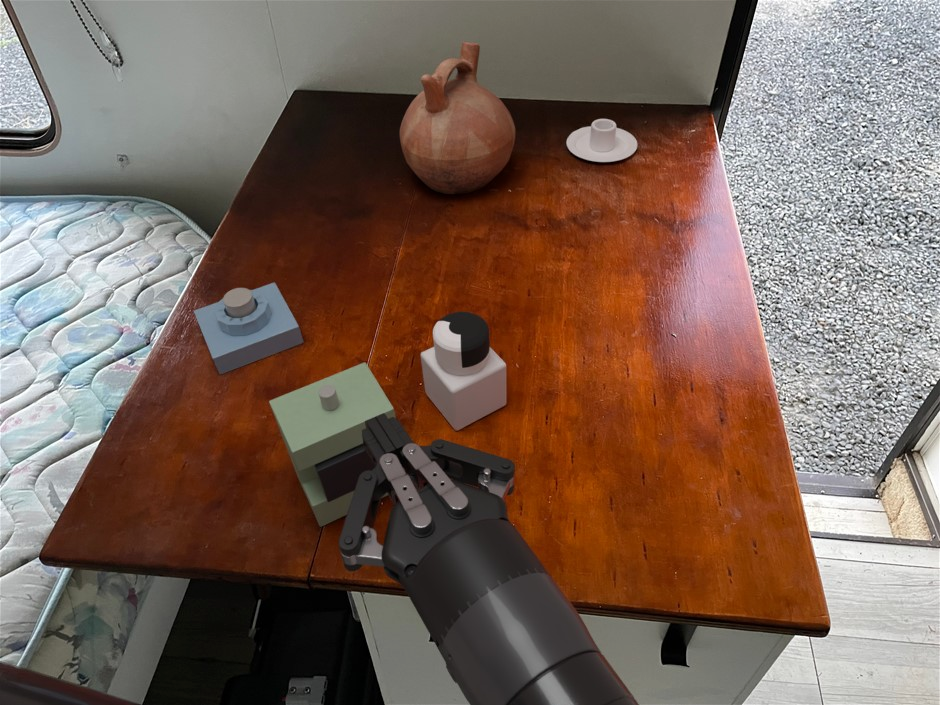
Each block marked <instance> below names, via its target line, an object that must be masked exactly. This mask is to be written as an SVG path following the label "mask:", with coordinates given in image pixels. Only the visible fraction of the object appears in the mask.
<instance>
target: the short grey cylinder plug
mask: <svg viewBox="0 0 940 705" xmlns="http://www.w3.org/2000/svg"><path fill="white" fill-rule="evenodd" d="M250 290H251V289H248V288H247V287H236V288H233V289H231V290H229V291H227V292H226V293H225V294H224V296H223V297H222V299H223V303H224V305H225V308H226V310H227V313H228V315H229V316H230V317H232V318H243V317H246V316H249V315H251V314H252V313H253V312H254V311H255V309H256V303H255V300H254V298H253V295H252V292H251V291H250Z"/></svg>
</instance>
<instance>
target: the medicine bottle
mask: <svg viewBox="0 0 940 705" xmlns="http://www.w3.org/2000/svg"><path fill="white" fill-rule="evenodd" d="M432 339H433V346H432V347H430V348H428V349H426V350H423V351H421V352H420V363H421V370H422V378H423V384H424V391H425V395H426V396H427V397H428V398H429V400H430V401H431V403H433V405H434V406H435V407H436V408H437V410H438V411H439V413H440V414H441V415H442V416H443V417H444V419H445V420H446V421H447V423H449V426H451V427H452V429H453V430H454V431H457V432H458V431H460V430H462V429H464V428H465V427H467V426H469V425H472V424H473V423H474V422H477V421H479V420H480V419H482V418H484V417H487V416H488V415H491V414H492V413H494V412H496V411H497V410H500V409H501V408H503V407H505V406H506V405H507V403H508V402H507V400H508V399H507V364H506V361H504V360H503V359H502V358H501V357H500V356H499V354H498V353H496V352H495V351H494V349H493V348H492V347H491V346H490V345H491V344H490V342H491V341H490V328H489V324H488V323H487V321H486V320H485V319H484V318H483V317H481V316H480V315H478V314H476V313H473V312H470V311H453V312H451V313H447V314H446V315H444V316H442V317H441V318H440V319H439V320H438V321H437V322H436V323H435V324H434V326H433V329H432Z"/></svg>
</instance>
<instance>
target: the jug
mask: <svg viewBox="0 0 940 705" xmlns="http://www.w3.org/2000/svg"><path fill="white" fill-rule="evenodd" d="M460 48H461V49H460V55H459V58H453V57H451V58H447V59H445V60H443V61H441V63H440V64H438V66H437V67H436V69H435V71H434V73H433V74H431V75H430V74H428V73H426V74H424V75H422V76H421V77H420V81H421V84H422V88H423V90H422V91H421V92H419V93H418V94H417V95H416V97H415V98H414V99H413V100H412V101H411V103H410V104H409V106H408V108H406V111H405V114H404V115H403V118H402V121H401V123H400V127H399V141H400V142H399V143H400V146H401V150H402V153H403V156H404V159H405V162H406V163H407V166H409V168H410V169H411V171H412V172H413V173H414V174H415V175H416V176H417V177H418V179H420V180H421V182H422V183H424V185H426V186H427V187H428V188H429V189H430V190H433V191H435V192H437V193H441V194H444V195H463V194H470V193H472V192H475V191H478V190H481V189H482V188H485V186H487V185H488V184H490V183H491V181H493V179H494V178H495V177H497V176H498V175H499V174H500V172H501V171H502V170H504V168H505V167H506V165H507V164H508V163H509V161H510V158H511V156H512V152H513V150H514V149H513V148H514V146H515V142H516V126H515V122H514V119H513V117H512V115H511V112H510V111H509V110H508V108H507V106H506V105H505V104H504V102H503V101H502V100H501V99H500V98H499V97H498V96H497V95H496V94H495V93H493V92H492V91H491V90H489V89H488V88H487V87H485V86H483V85H482V84H480V83H479V82H478V78H477V74H478V65H479V58H480V52H481V50H480V48H481V46H480V44H479V43H473V42H471V43H470V42H467V41H463V42H462V44H461V47H460ZM455 70H456V72H457V73H456V75H455V77H454V78H453V79H450V78H451V76H452V74H453V72H454V71H455Z"/></svg>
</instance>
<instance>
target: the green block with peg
mask: <svg viewBox="0 0 940 705" xmlns="http://www.w3.org/2000/svg"><path fill="white" fill-rule="evenodd" d="M268 403H269V406H270V408H271V411H272V413H273V416H274V419H275V421H276V424H277V426H278V429H279V432H280V434H281V438H282V440H283V442H284V445H285V447H286V451H287V453H288V456H289V458H290V460H291V463H292V466H293V469H294V471H295V474H296V477H297V479H298V481H299V484H300V486H301V488H302V490H303V492H304V494H305V497H306V499H307V501H308V504H309V506H310V508H311V510H312V513H313V515H314V517H315V519H316V522H317V524H318V526H319V527H320V528H321V527H324V526H326V525H328V524H331V523H332V522H335V521H336V520H338V519H341V518H343V517H346V516H347V513H348V510H349V507H350V504H351V500H352V497H353V494H354V491H355V490H354V491H352V492H350V493H348V494H346V495H343V496H341V497H339V498H337V499H335V500H333V501H330V502H328V501H327V499H326V497H325V495H324V492H323V489H322V486H321V483H320V480H319V477H318V474H317V471H316V469H315V466H314V465H315V464H317V463H320V462H322V461H324V460H326V459H329V458H331V457H333V456H335V455H338V454H340V453H342V452H345V451H347V450H349V449H351V448H354V447H356V446H358V445H360V444H363V439H362V430H363V429H366V426H365V421H366V420H368V419H371V418H373V417H375V416H378V415H380V414H383V413H384V414H385V415H386V416H387V418H388V419H389V418H392V417H394V418H396V419H397V417H396V412H395V408H394V406H393V404H392V403H391V402H390V400H389V398H388V397H387V395H386V393H385V392H384V390H383V389H382V386H381V384H379V382H378V380H377V379H376V377H375V375H374V373H373V372H372V370H371V369H370V367H369V366H368V364H367V363H366V362H361V363H359V364H357V365H354V366H352V367H349V368H347V369H345V370H342V371H339V372H337V373H334V374H332V375H329V376H327V377H325V378H322V379H320V380H317V381H315V382H312V383H310V384H307V385H305V386H303V387H300V388H297V389H295V390H292V391H290V392H288V393H284V394H283V395H280V396H278V397H275V398H273V399H270V400H269V401H268ZM403 469H404V468H403ZM404 471H405V470H404ZM387 496H388V493H386V494H385V495H384V496H382V497H381V499H383V498H385V497H387Z"/></svg>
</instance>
